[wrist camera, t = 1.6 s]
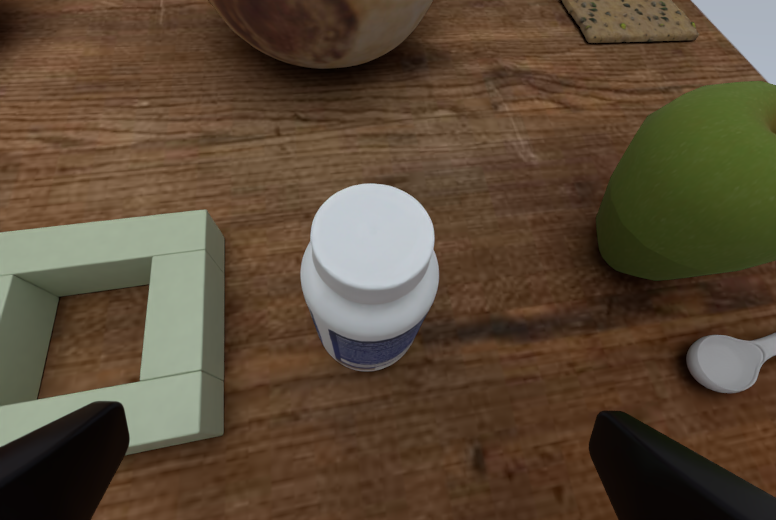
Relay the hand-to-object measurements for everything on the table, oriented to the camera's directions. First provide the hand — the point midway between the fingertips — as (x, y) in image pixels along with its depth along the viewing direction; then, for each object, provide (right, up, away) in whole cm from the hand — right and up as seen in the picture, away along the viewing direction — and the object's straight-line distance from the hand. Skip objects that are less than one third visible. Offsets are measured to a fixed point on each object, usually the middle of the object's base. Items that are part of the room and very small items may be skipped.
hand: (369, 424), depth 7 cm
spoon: (+22, -2, +15) cm, 26 cm away
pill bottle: (-1, -1, +13) cm, 13 cm away
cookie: (+24, +29, +31) cm, 49 cm away
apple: (+15, +3, +17) cm, 23 cm away
